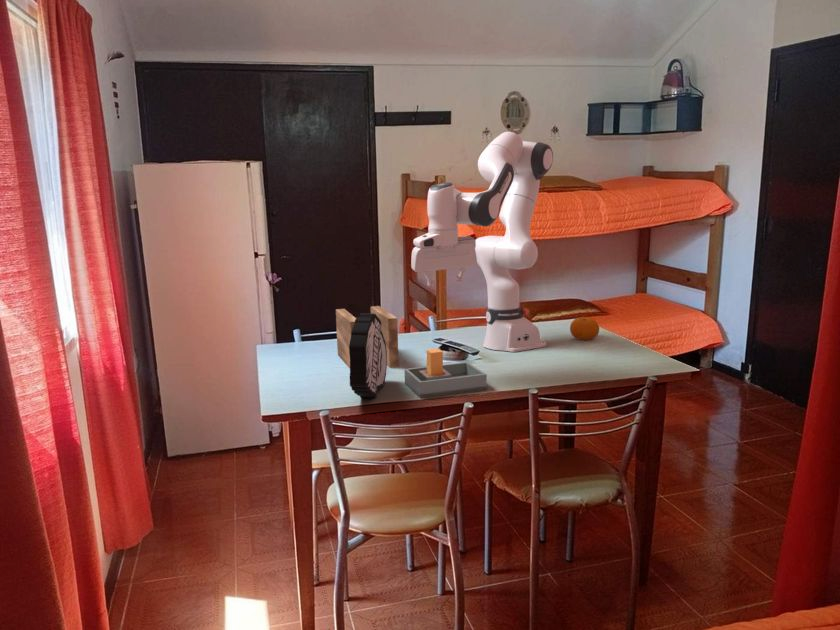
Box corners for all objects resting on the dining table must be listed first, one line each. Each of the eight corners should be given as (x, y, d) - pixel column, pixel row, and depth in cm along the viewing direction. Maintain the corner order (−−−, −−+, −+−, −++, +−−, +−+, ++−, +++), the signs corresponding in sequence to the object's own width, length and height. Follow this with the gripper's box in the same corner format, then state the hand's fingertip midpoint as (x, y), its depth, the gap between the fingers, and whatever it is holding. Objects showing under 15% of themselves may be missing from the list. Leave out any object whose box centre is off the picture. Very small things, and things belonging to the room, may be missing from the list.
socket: (442, 379, 198) (442, 368, 197) (451, 386, 191) (451, 374, 190) (418, 382, 195) (418, 370, 195) (427, 389, 189) (427, 377, 188)
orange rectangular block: (438, 381, 196) (438, 348, 193) (443, 385, 192) (442, 351, 190) (427, 383, 194) (426, 349, 192) (431, 386, 191) (430, 352, 189)
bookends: (380, 350, 236) (378, 305, 233) (398, 366, 215) (397, 318, 212) (337, 354, 231) (335, 309, 228) (352, 371, 211) (350, 322, 207)
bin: (467, 376, 204) (467, 361, 203) (486, 389, 191) (486, 374, 190) (404, 383, 198) (404, 369, 197) (420, 398, 185) (419, 382, 184)
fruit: (569, 341, 243) (570, 320, 242) (569, 335, 253) (570, 314, 252) (599, 343, 241) (600, 321, 239) (598, 336, 251) (599, 315, 249)
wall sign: (384, 404, 197) (362, 387, 169) (370, 403, 198) (345, 387, 169) (388, 331, 203) (368, 303, 175) (375, 331, 204) (352, 303, 175)
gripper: (471, 234, 206) (472, 278, 210) (408, 240, 200) (410, 285, 203) (479, 236, 201) (480, 281, 204) (415, 242, 194) (417, 289, 198)
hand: (445, 283), depth 204 cm, fingers open, 8 cm apart
